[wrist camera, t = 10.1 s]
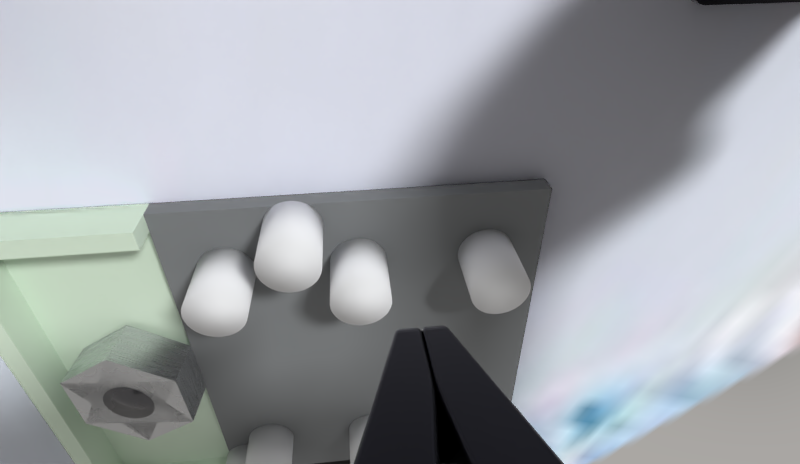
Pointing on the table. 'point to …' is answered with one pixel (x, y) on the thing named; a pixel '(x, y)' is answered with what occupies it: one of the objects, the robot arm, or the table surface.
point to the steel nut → (136, 383)
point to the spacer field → (267, 306)
